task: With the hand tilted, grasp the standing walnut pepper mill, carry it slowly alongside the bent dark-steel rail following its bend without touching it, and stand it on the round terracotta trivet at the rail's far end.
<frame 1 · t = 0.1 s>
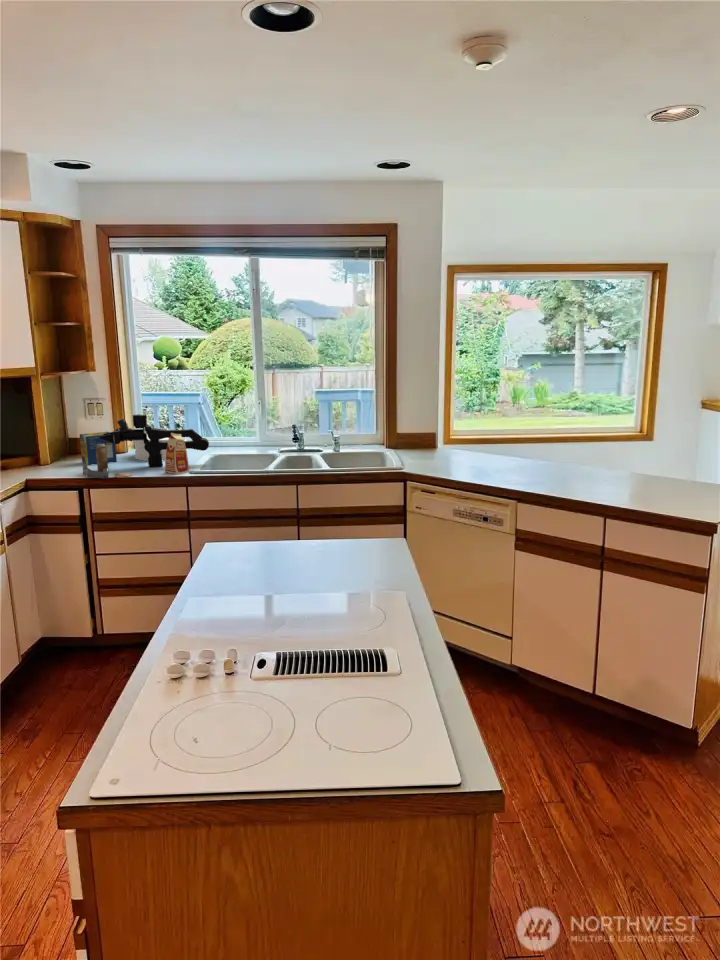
hand: (101, 436, 323), 17 cm above the countertop, tool horizontal, fingers open, 9 cm apart
pepper mill: (103, 472, 316), on the countertop
trivet: (123, 476, 307), on the countertop
milk carton: (177, 472, 317), on the countertop
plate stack: (161, 457, 361), on the countertop
protein box: (99, 462, 343), on the countertop
rail: (156, 466, 332), on the countertop
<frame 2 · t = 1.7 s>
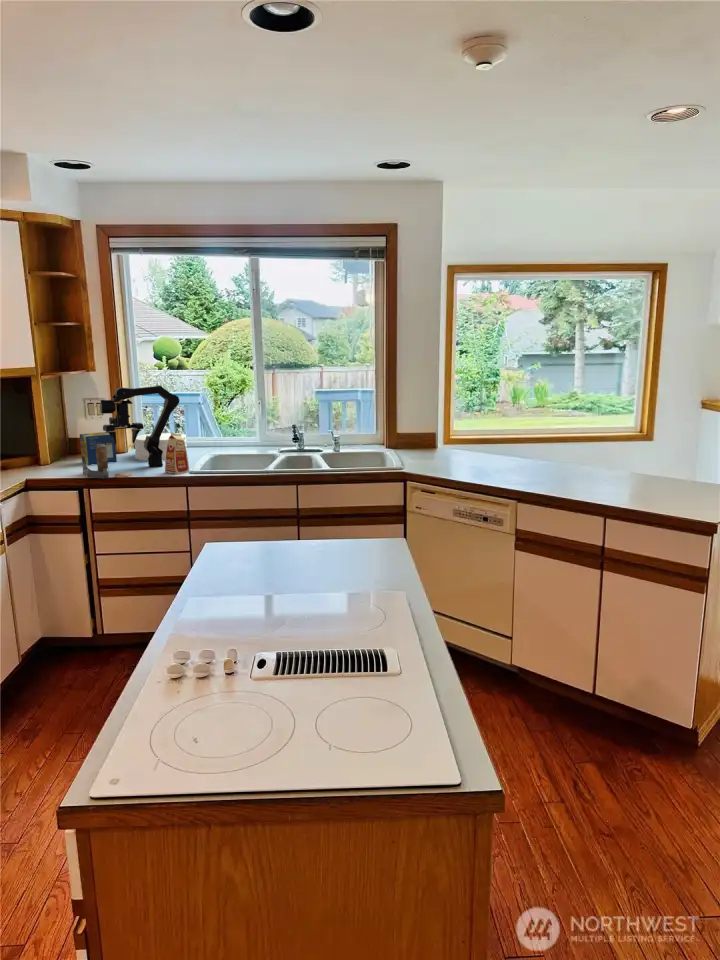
hand: (124, 444, 321), 13 cm above the countertop, tool pointing down, fingers open, 9 cm apart
nothing on the countertop moved.
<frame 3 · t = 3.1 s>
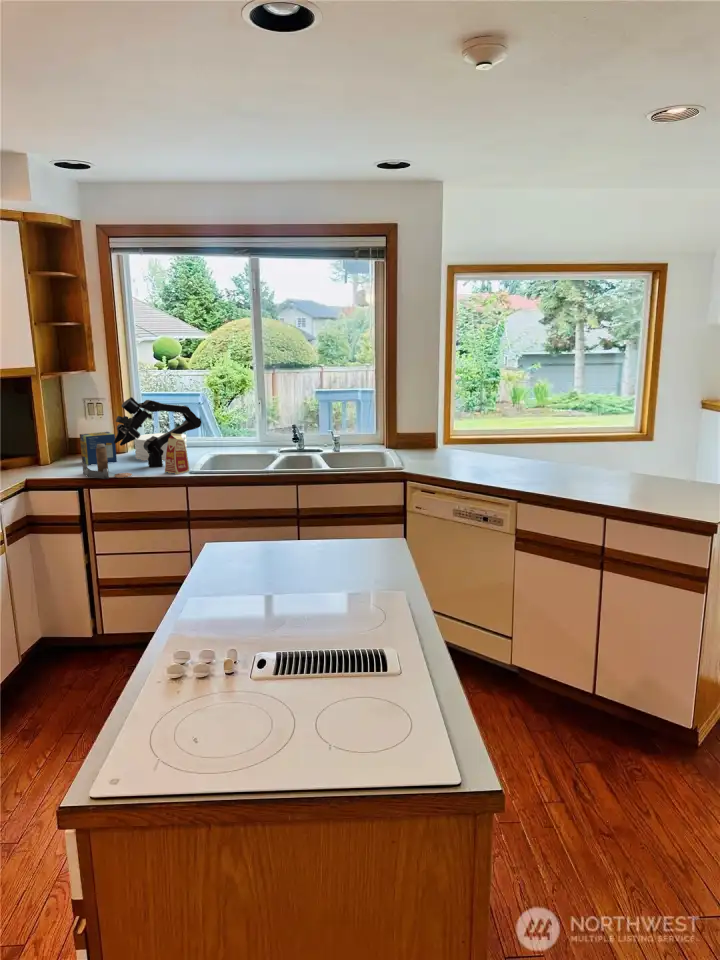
hand: (117, 444, 318), 13 cm above the countertop, tool tilted 45°, fingers open, 9 cm apart
nothing on the countertop moved.
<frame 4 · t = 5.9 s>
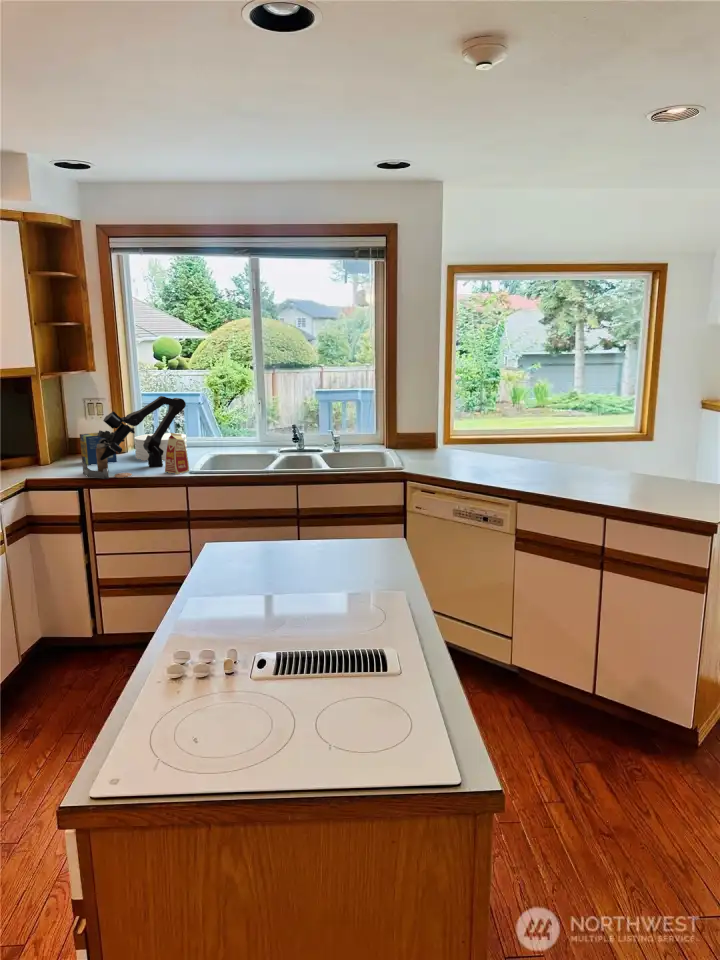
hand: (99, 459, 313), 7 cm above the countertop, tool tilted 45°, fingers closed on pepper mill, 5 cm apart
pepper mill: (103, 472, 316), on the countertop, touching gripper
everything else where it was.
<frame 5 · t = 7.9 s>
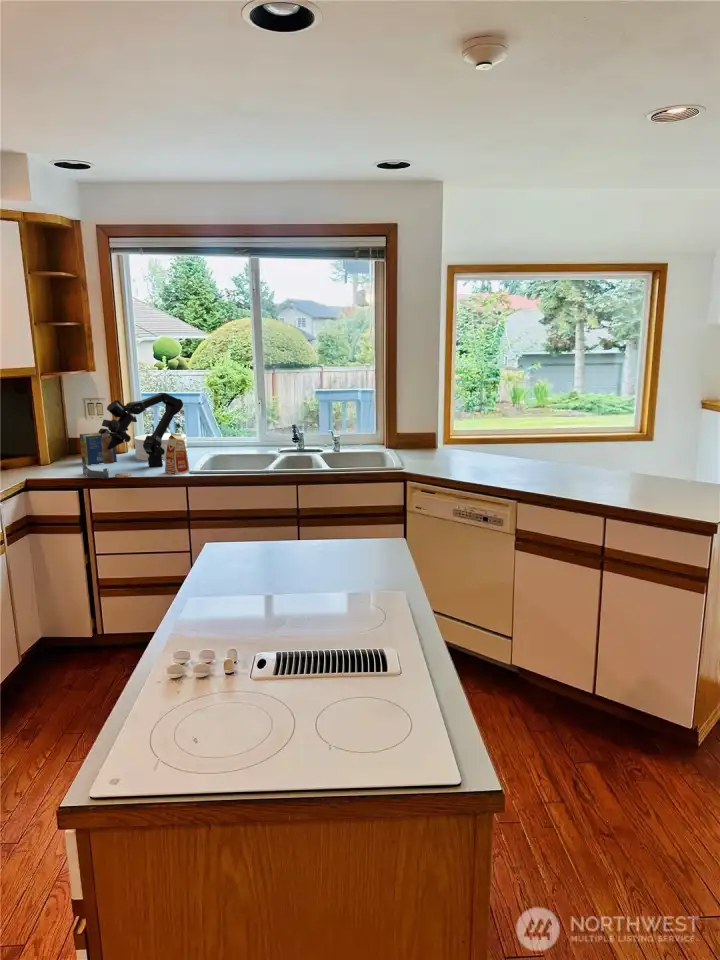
hand: (104, 448, 306), 13 cm above the countertop, tool tilted 45°, fingers closed on pepper mill, 5 cm apart
pepper mill: (108, 462, 309), point 6 cm above the countertop, touching gripper
everything else where it was.
when the fingers open (9 cm above the countertop, at t = 10.2 s): pepper mill stays where it is, resting on trivet.
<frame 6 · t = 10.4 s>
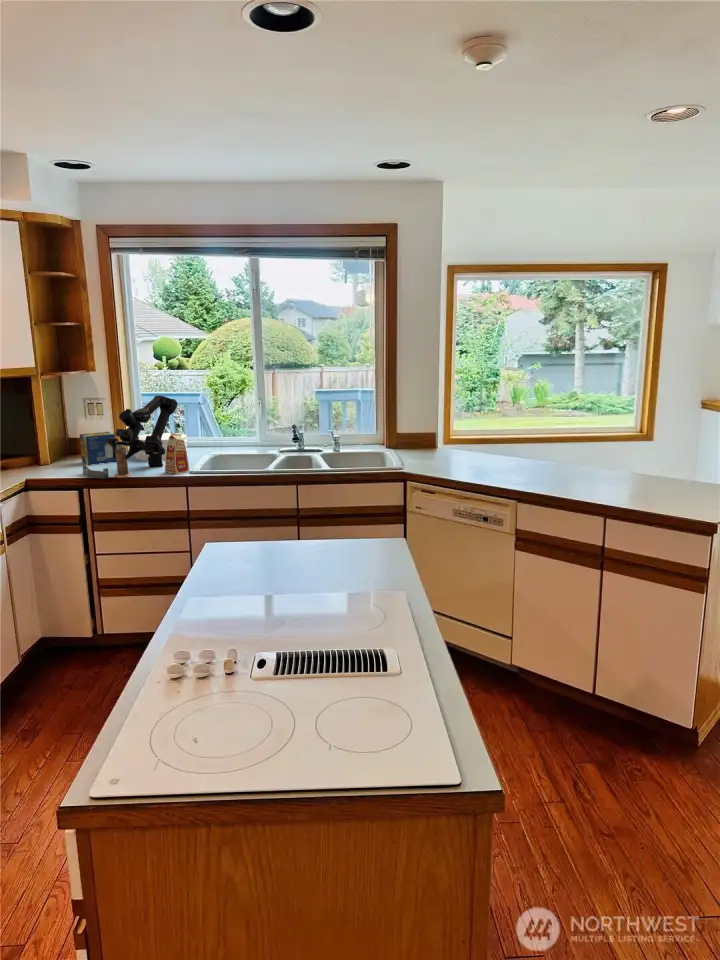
hand: (119, 458, 304), 9 cm above the countertop, tool tilted 45°, fingers open, 7 cm apart
pepper mill: (123, 474, 307), point 1 cm above the countertop, touching trivet
everything else where it was.
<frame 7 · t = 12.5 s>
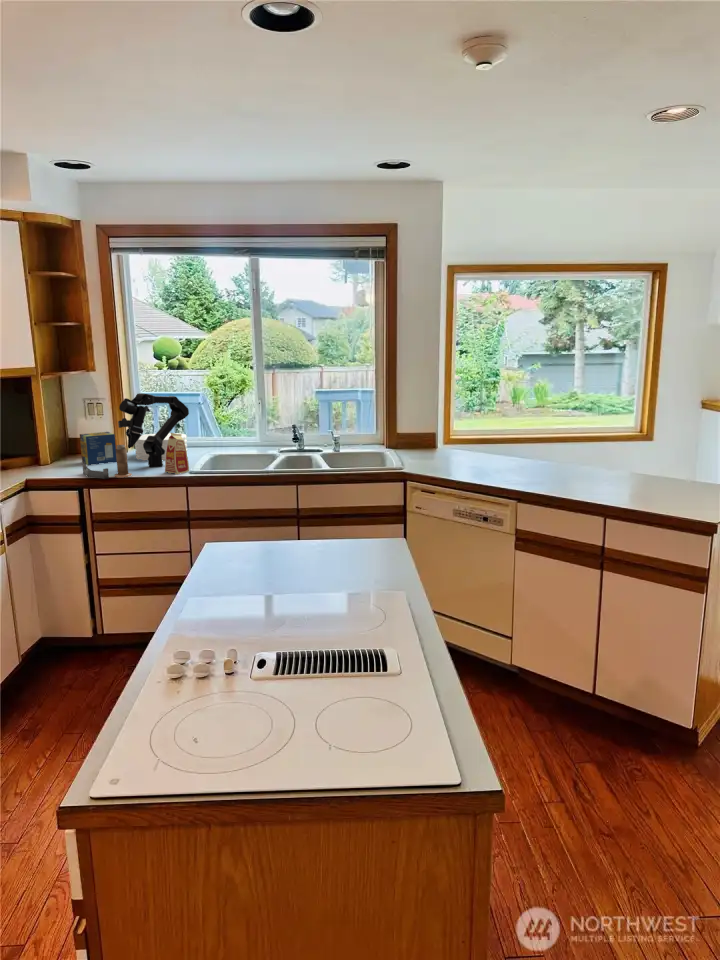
hand: (130, 447, 317), 12 cm above the countertop, tool tilted 25°, fingers open, 9 cm apart
nothing on the countertop moved.
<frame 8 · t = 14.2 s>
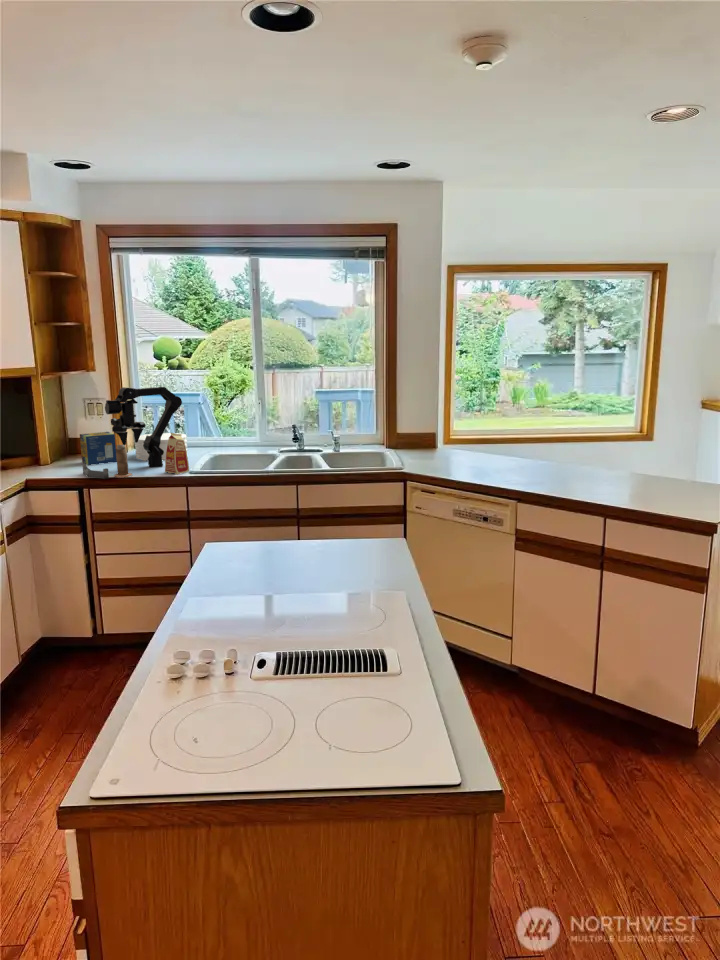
hand: (130, 443, 321), 13 cm above the countertop, tool pointing down, fingers open, 9 cm apart
nothing on the countertop moved.
at the end: pepper mill 0.1 cm from the trivet (horizontally); pepper mill tilted 0°; pepper mill touching trivet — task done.
